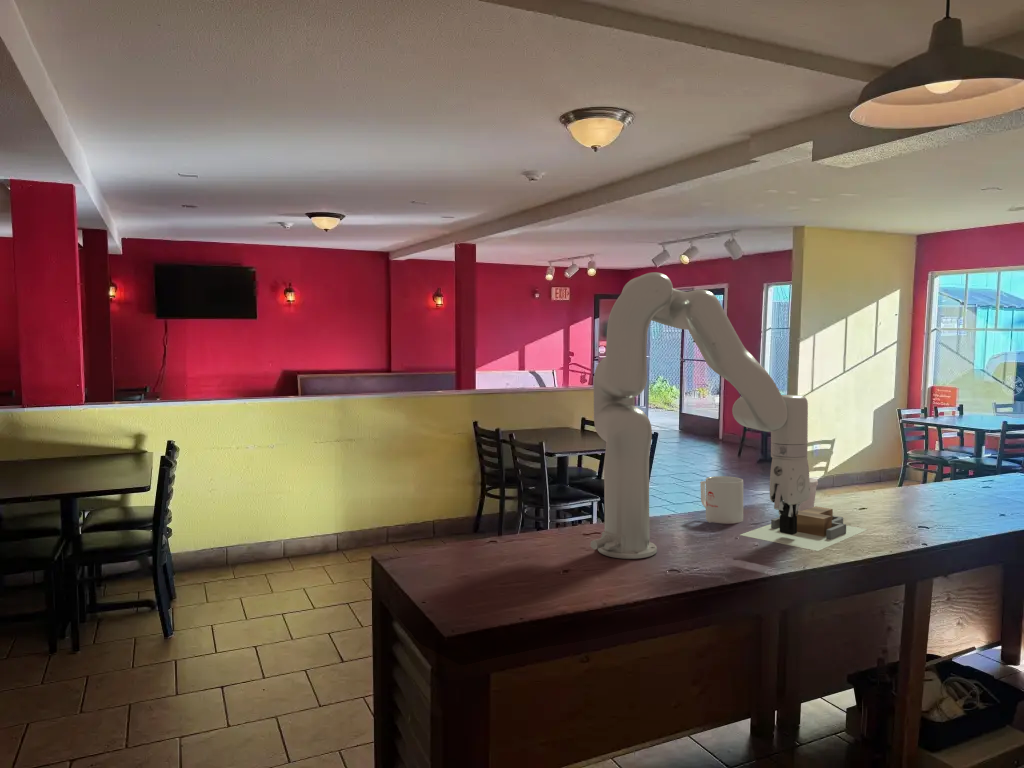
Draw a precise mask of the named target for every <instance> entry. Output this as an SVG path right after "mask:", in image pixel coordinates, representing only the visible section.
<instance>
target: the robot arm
mask: <svg viewBox="0 0 1024 768" xmlns="http://www.w3.org/2000/svg"><path fill="white" fill-rule="evenodd" d="M673 286H674V285H673V283H672V281H671V279H670V277H668V276H667V275H666V274H664V273H661V272H656V271H655V272H647V273H645V274H641V275H640V276H639V275H638V276H637V277H634V278H632V279H630V280H629V281H628V282H627V283H625V285H624V286H623V288H622V291H621V293H620V295H619V296H618V297H617V299H616V301H615V302H614V304H613V306H612V308H611V310H610V313H609V316H608V320H607V325H606V326H607V327H606V343H605V351H606V352H605V357H603V358H602V359H601V360H600V361H599V363H598V364H597V365H596V368H595V371H594V373H593V374H594V375H593V421H594V428H595V431H596V434H597V435H598V437H599V438H601V440H602V441H604V442H605V451H604V452H605V453H604V461H603V462H604V463H603V464H604V465H603V473H604V474H603V475H604V476H603V481H604V482H603V483H604V485H603V486H604V493H603V495H604V497H603V498H604V531H602V532H601V537H600V538H596V539H594V540H591V541H590V548H591V549H592V550H597V551H598V552H599V554H601V555H603V556H606V557H611V558H616V559H623V560H635V559H638V560H639V559H645V558H650V557H652V556H654V555H656V554H657V551H658V548H657V545H656V544H655V543H653V542H651V541H650V452H651V445H652V437H653V429H652V423H651V420H650V418H649V417H648V415H647V414H646V413H645V412H644V411H643V410H642V409H641V408H640V407H637V406H636V405H635V404H636V403H635V402H636V400H635V399H636V398H635V397H638V396H640V394H642V393H643V391H644V390H645V388H646V385H647V380H648V373H647V371H648V370H647V369H648V368H647V366H648V365H647V364H648V363H647V359H648V358H647V354H648V353H647V352H648V351H647V345H648V343H647V341H648V331H649V327H650V324H651V322H655V323H658V324H661V325H665V326H668V327H671V328H676V329H679V330H686V331H687V330H688V333H689V334H690V337H692V339H693V342H694V343H695V345H696V346H697V348H698V350H699V352H700V354H701V355H702V357H703V359H704V361H705V362H706V364H707V366H708V367H709V368H710V369H711V370H712V371H714V373H716V374H717V375H718V376H720V377H722V378H723V379H724V380H726V381H727V382H728V383H730V384H731V386H733V387H734V389H736V391H737V392H738V393H739V395H740V397H738V398H737V400H735V401H734V404H733V405H732V409H731V411H732V416H733V418H734V420H735V421H736V422H737V423H738V424H739V425H741V426H743V427H744V428H745V427H746V428H747V429H752V430H756V431H757V430H758V431H762V432H767V433H770V457H771V458H772V459H771V465H770V472H769V473H770V474H769V475H770V476H769V499H770V501H771V502H772V503H774V506H773V509H774V510H777V511H778V515H779V517H780V532H781V533H785V534H790V535H793V534H796V533H797V515H798V509H799V505H800V504H801V503H802V502H804V501H806V500H808V499H809V497H810V479H809V478H810V468H809V460H808V435H809V434H808V431H809V423H808V422H809V421H808V420H809V419H808V418H809V412H808V411H809V409H808V408H809V406H808V405H809V403H808V402H809V401H808V400H807V398H806V396H804V395H798V394H781V392H780V390H779V388H778V387H777V385H776V383H775V381H774V379H773V378H772V377H771V375H770V374H769V373H768V371H767V370H766V369H765V368H764V367H763V366H762V365H761V363H759V361H758V360H757V359H756V358H755V357H754V356H753V354H751V352H749V350H747V348H746V347H745V346H744V344H743V342H742V340H741V338H740V337H739V335H738V334H737V331H736V330H735V328H734V326H733V325H732V323H731V321H730V318H729V317H728V315H727V314H726V311H725V309H724V307H723V306H722V305H721V302H720V301H719V299H718V297H717V296H716V295H715V294H714V293H713V292H711V291H709V290H706V289H695V290H689V291H685V290H679V289H676V288H674V287H673ZM795 515H796V516H795Z"/></svg>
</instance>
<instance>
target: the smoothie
mask: <svg viewBox="0 0 1024 768" xmlns="http://www.w3.org/2000/svg"><path fill="white" fill-rule="evenodd" d="M809 479H810V497H809V499H808V500H806V501H804V502H802V503H801V504H800V505H799V509H798V510H799V511H803V510H806V509H809V508H812V507H815V501H816V494H817V487H818V485H819V481H818V479H816V478H811V477H809Z"/></svg>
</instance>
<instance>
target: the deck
mask: <svg viewBox="0 0 1024 768" xmlns="http://www.w3.org/2000/svg"><path fill="white" fill-rule="evenodd" d="M868 530H869V529H868V528H863V527H856V526H851V525H847V524H845V523H844V517H843V516H840V515H839V516H837V515H833V520H832V528H830V529H827V530H826V536H824V537H822V536H817V535H812V534H807V533H801V532H797V533H796V534H793V535H790V534H785V533H781V532H780V516H779V517H775V518H773V519H771V520H770V524H766V525H763V526H761V527H758V528H755V529H752V530H750V531H747V532H744V533H741V534H739V536H742V537H747V538H751V539H756V540H761V541H765V542H773V543H778V544H782V545H785V546H789V547H790V546H791V547H797V548H801V549H805V550H810V551H815V552H819V551H821V550H824V549H826V548H828V547H831V546H833V545H836V544H839V542H840V543H841V542H842V541H845V540H847V539H849V538H850V539H851V538H852V537H854V536H856V535H858V534H861V533H863V532H866V531H868Z"/></svg>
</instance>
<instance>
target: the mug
mask: <svg viewBox="0 0 1024 768" xmlns="http://www.w3.org/2000/svg"><path fill="white" fill-rule="evenodd" d="M700 502H701V504H702V506H703V507H704V508H705V520H706V521H707V522H708V524H709V523H717V524H730V525H731V524H739V523H742V522H744V479H743V478H740V477H734V476H724V475H718V476H714V475H713V476H709V477H706V478H705V480H703V481H700Z"/></svg>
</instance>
